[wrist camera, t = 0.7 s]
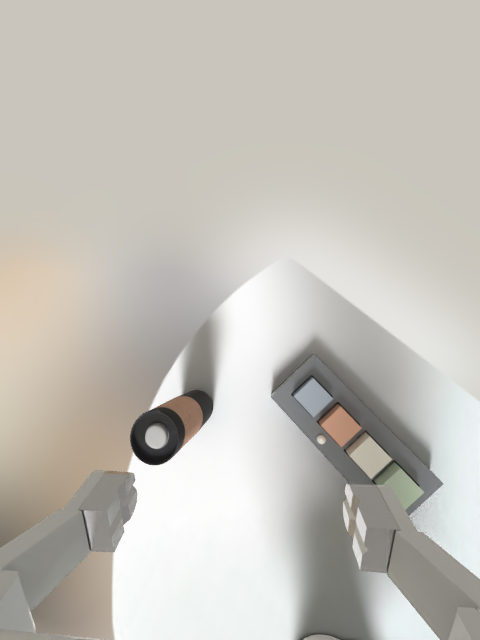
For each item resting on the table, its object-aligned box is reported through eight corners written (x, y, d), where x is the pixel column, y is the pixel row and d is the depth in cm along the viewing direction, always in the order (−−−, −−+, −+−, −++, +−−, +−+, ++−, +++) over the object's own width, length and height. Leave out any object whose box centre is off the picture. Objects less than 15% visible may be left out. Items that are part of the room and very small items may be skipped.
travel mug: (201, 431, 55) (159, 478, 35) (174, 410, 56) (119, 443, 36) (221, 402, 55) (190, 432, 35) (193, 381, 56) (148, 399, 36)
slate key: (328, 394, 50) (333, 398, 46) (310, 412, 50) (313, 417, 46) (310, 375, 51) (313, 378, 47) (292, 392, 51) (293, 396, 47)
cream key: (382, 450, 47) (392, 459, 43) (363, 468, 47) (371, 479, 43) (362, 429, 48) (369, 436, 44) (343, 447, 48) (349, 455, 44)
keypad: (429, 472, 48) (444, 484, 43) (383, 515, 48) (393, 531, 44) (312, 354, 53) (315, 354, 49) (271, 393, 53) (270, 397, 49)
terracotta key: (355, 421, 48) (362, 428, 45) (336, 439, 49) (341, 447, 45) (335, 401, 49) (340, 406, 45) (317, 419, 49) (320, 425, 46)
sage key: (411, 480, 46) (424, 492, 42) (391, 498, 46) (402, 512, 42) (390, 458, 47) (400, 467, 43) (370, 476, 47) (379, 487, 43)
